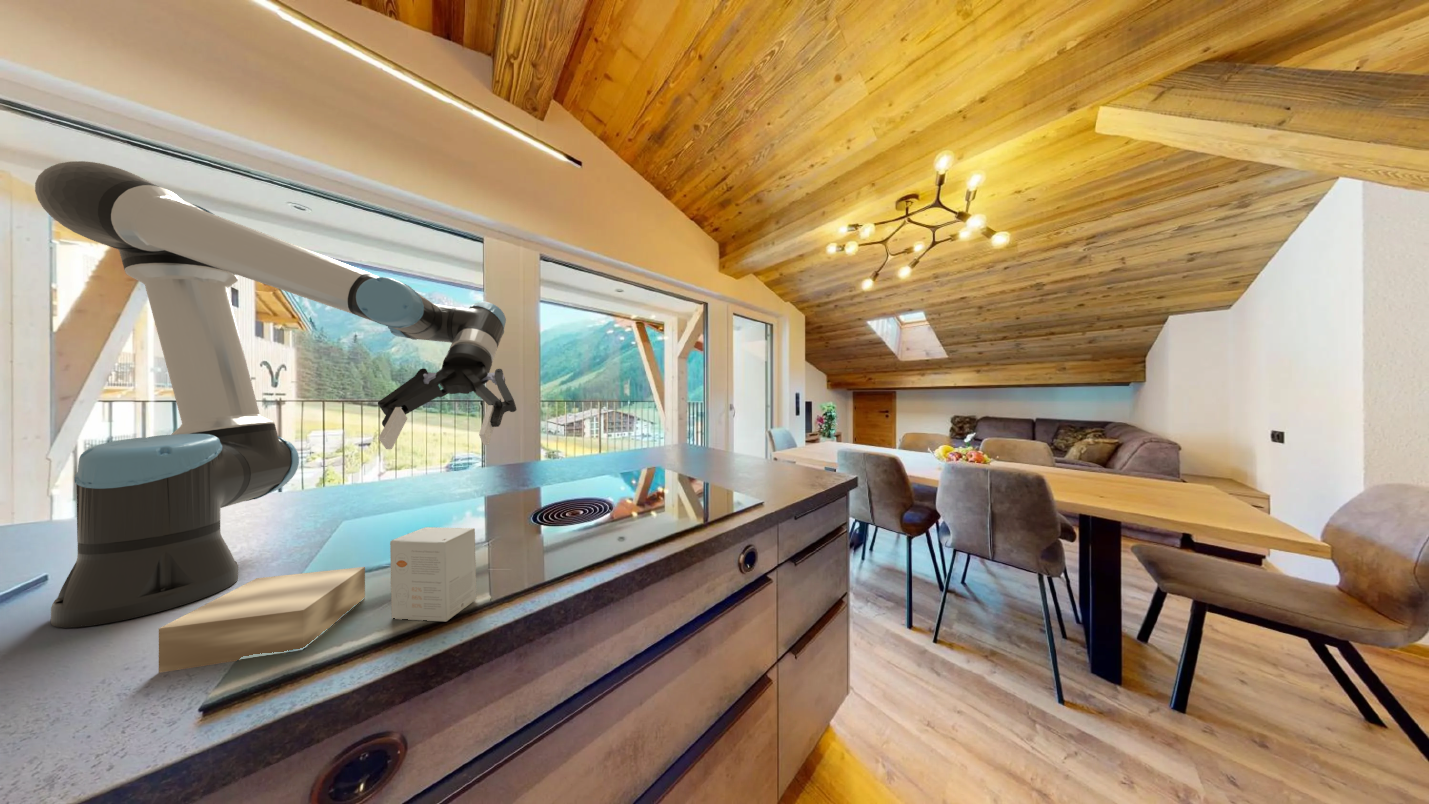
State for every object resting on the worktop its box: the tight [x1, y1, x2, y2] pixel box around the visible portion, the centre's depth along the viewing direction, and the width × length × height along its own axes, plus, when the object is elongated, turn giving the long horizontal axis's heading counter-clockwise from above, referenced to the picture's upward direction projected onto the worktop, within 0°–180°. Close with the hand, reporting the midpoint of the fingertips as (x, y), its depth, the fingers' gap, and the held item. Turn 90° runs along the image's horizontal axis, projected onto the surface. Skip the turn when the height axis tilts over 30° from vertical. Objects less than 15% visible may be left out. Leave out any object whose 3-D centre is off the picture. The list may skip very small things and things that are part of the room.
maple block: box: [158, 566, 366, 673], centre depth 47 cm, size 12×12×5 cm
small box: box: [389, 526, 477, 622], centre depth 52 cm, size 8×6×10 cm
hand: (435, 441), depth 60 cm, fingers open, 13 cm apart
